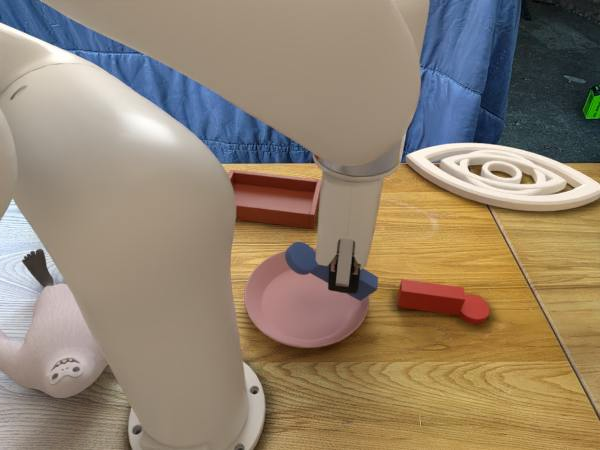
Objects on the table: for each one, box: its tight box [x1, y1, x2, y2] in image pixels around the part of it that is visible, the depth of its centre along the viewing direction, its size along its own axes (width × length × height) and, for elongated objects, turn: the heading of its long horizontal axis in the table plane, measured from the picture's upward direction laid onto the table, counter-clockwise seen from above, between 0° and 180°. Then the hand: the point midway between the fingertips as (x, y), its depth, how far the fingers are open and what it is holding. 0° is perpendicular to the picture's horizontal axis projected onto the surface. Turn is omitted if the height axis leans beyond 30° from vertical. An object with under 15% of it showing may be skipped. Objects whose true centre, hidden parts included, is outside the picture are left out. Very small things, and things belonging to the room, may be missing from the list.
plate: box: [243, 247, 370, 349], centre depth 52 cm, size 14×14×2 cm
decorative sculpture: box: [405, 142, 600, 212], centre depth 70 cm, size 15×29×2 cm, turn 82°
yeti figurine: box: [0, 248, 109, 399], centre depth 47 cm, size 20×7×20 cm
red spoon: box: [396, 278, 491, 325], centre depth 51 cm, size 10×4×3 cm, turn 80°
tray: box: [227, 169, 322, 230], centre depth 64 cm, size 14×8×3 cm, turn 80°
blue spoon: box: [285, 241, 379, 301], centre depth 48 cm, size 10×4×3 cm
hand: (343, 281), depth 50 cm, fingers closed on blue spoon
